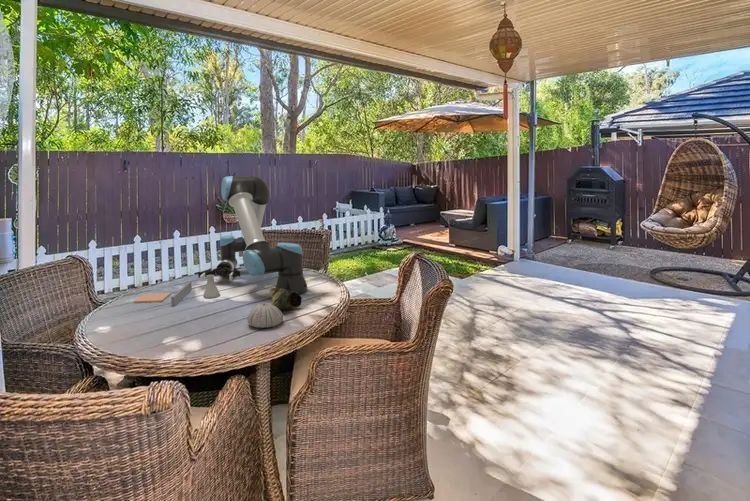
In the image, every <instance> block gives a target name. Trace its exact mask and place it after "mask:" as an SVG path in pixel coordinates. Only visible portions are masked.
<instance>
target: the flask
mask: <svg viewBox="0 0 750 501" xmlns="http://www.w3.org/2000/svg"><path fill="white" fill-rule="evenodd" d="M214 277H215V276H214V275H207V276H206V286H205V289H204V292H203V295H202V296H203V298H205V299H213V298H218V297H220V296H221V294H220V291H219V289H218V287H217V285H216V283H215V278H214Z"/></svg>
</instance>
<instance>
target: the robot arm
mask: <svg viewBox="0 0 750 501" xmlns="http://www.w3.org/2000/svg"><path fill="white" fill-rule="evenodd" d="M220 189H221V191H220V192H221V199H222V200H223V201H225V202H228V205H229V206H230V207H232V208H233V210H234V213H235V215H236V216H235V217H236V219H237V221H238V226H239V227H240V231H241V234H242V236H243V237H242V238H241V237H239V238H236V237H235V236H234V235H231V234H230V235H222V236H220V238H219V247H220V260H221V262H220V263H218V265H217V266H216V268H213V269H212V268H208V269H205V270H203V271H199V272H198V273H197V276H198V278H199V279H200V283H201V282H202V283H203V281H204V280H205V279H207V277H206V276H207V275H214V277H217V276H220V277H223V278H225V277H228V276H229V278H228V279H229V281H233V279H234V278H237V277H238V278H239V277H241V270H239V269H237V266H238V260H237V257H236V253H241V252H243V253H242V260H243V264H244V265H243V267H244V268H245V270H246V271H247V273H248V274H249V275H252V276H263V275H267V274H273V273H277V280H276V282H275V287H274V288H278V289H286V290H287V291H288V292H292V291H295V292H297V293H298V294H300V295H301V294H304V292H305V293H307V291H308V284H307V282H306V279H305V276H304V267H303V266H304V265H303V264H304V263H303V262H304V260H303V255H304V254H303V248H302V245H301V244H299V243H292V242H277V243H276V246H273V247H272V246H271V244H270V242H269V241H268V240H265V236H264V235H263V234H264V233H263V231H262V225H263V221H264V214H265V212H266V206H267V205H268V204H269V202H270V198H271V193H270V189H269V186H268V184H267V182H265V180H264V179H263V178H262V177H260V176H258V175H235V176H234V175H231V176H224V177H223V179H222V181H221V188H220Z"/></svg>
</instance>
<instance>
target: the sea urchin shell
mask: <svg viewBox="0 0 750 501" xmlns="http://www.w3.org/2000/svg"><path fill="white" fill-rule="evenodd" d="M246 320H247V321H246V322H247V323H248V325H250V326H251V327H254V328H259V329H260V328H261V329H264V328H267V329H268V328H271V327H272V328H273V327H276V326H279V325H280V324H281V323H282V322H283V320H284V315H283V313H282V310H279V309H278V308H277V307H276V306H274V305H272V304H271V303H269V302H266V303H258V304H257V305H255V306H254V307H253V308H252V309H251V310H250V311H249V313H248V315H247V317H246Z"/></svg>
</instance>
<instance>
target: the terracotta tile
mask: <svg viewBox="0 0 750 501" xmlns="http://www.w3.org/2000/svg"><path fill="white" fill-rule="evenodd" d="M171 295H172V292H158V293H157V292H156V293H152V292H151V293H143V294H142V295H140V296H139V297H138V298H136V299H135V300H133V302H132V303H133V304H144V303H163V302H164V301H165V300H166V299H168V297H170V296H171ZM162 301H163V302H162Z"/></svg>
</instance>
